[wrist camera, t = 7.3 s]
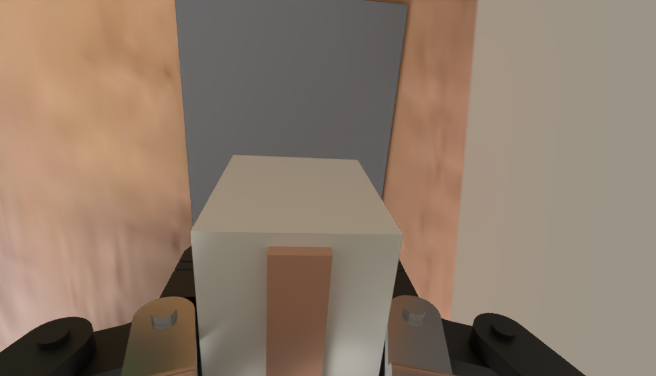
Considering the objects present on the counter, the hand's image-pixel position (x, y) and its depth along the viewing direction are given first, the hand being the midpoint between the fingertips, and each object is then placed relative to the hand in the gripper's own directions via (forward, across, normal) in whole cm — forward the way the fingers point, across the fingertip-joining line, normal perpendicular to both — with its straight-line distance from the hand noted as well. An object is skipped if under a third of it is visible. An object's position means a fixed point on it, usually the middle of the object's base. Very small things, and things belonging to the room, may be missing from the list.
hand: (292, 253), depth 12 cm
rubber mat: (+15, 0, 0) cm, 15 cm away
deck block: (0, 0, 0) cm, 0 cm away
